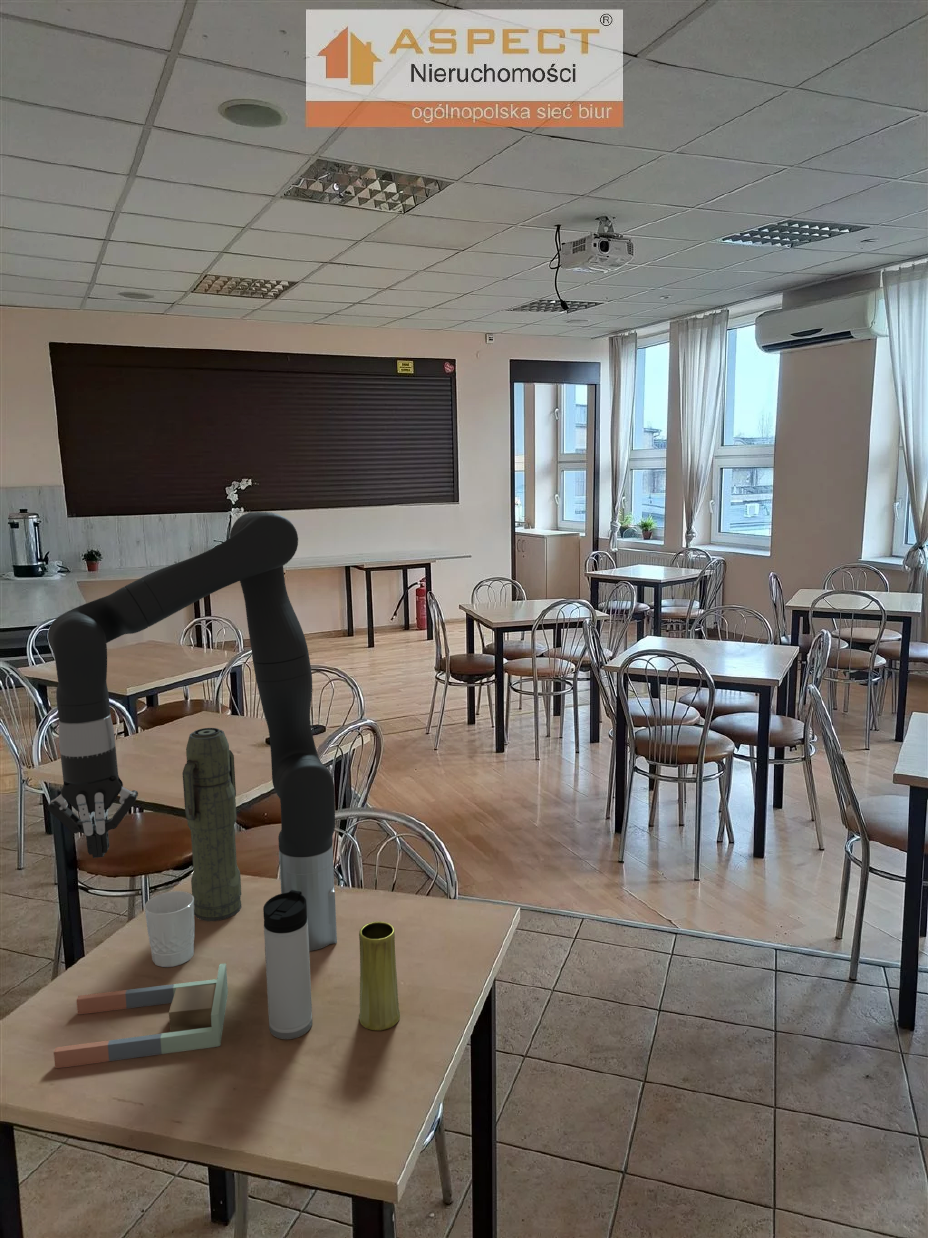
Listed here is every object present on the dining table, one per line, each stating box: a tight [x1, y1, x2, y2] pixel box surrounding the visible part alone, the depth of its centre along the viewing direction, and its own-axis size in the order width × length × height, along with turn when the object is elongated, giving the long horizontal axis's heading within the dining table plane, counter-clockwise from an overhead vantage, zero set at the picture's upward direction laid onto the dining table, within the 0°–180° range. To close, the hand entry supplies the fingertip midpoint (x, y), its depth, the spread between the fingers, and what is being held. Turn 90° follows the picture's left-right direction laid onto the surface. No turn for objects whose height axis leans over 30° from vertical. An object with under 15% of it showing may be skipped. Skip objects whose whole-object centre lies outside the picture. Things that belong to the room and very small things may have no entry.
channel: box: [53, 962, 229, 1069], centre depth 122 cm, size 22×13×5 cm, turn 101°
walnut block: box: [168, 984, 216, 1032], centre depth 124 cm, size 6×6×4 cm
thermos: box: [182, 727, 242, 922], centre depth 154 cm, size 9×12×35 cm
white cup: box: [144, 890, 196, 968], centre depth 140 cm, size 8×8×10 cm
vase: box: [358, 920, 401, 1032], centre depth 123 cm, size 6×6×14 cm
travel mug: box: [262, 890, 313, 1040], centre depth 121 cm, size 6×7×20 cm
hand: (99, 855), depth 126 cm, fingers closed
